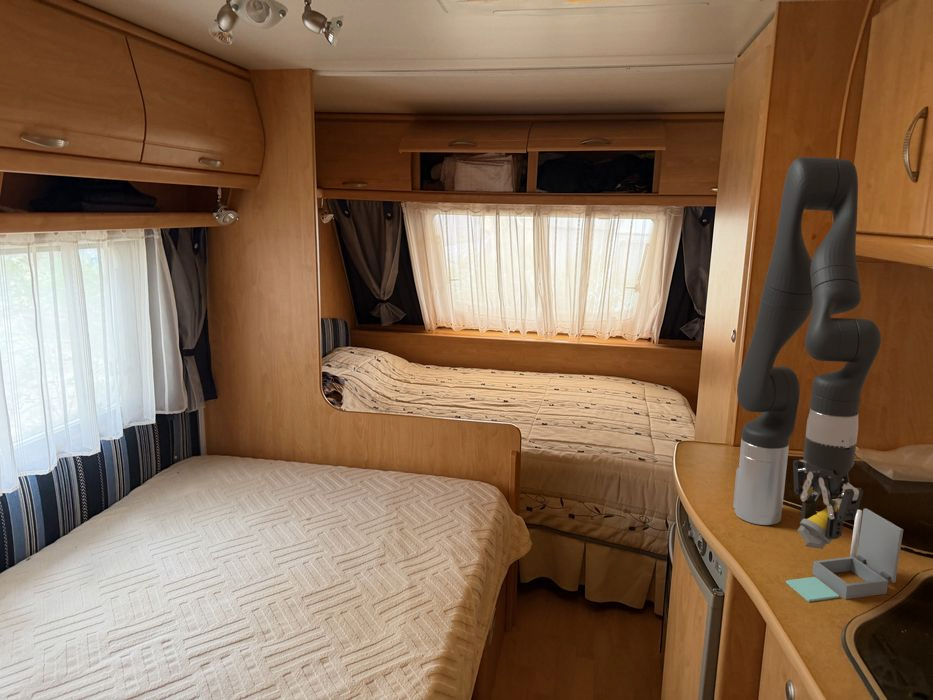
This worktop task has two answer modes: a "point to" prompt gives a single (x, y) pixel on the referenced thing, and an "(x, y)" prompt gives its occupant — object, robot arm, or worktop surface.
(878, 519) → the case
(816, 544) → the drill bit
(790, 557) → the worktop surface
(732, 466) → the worktop surface
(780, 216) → the robot arm
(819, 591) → the mat
